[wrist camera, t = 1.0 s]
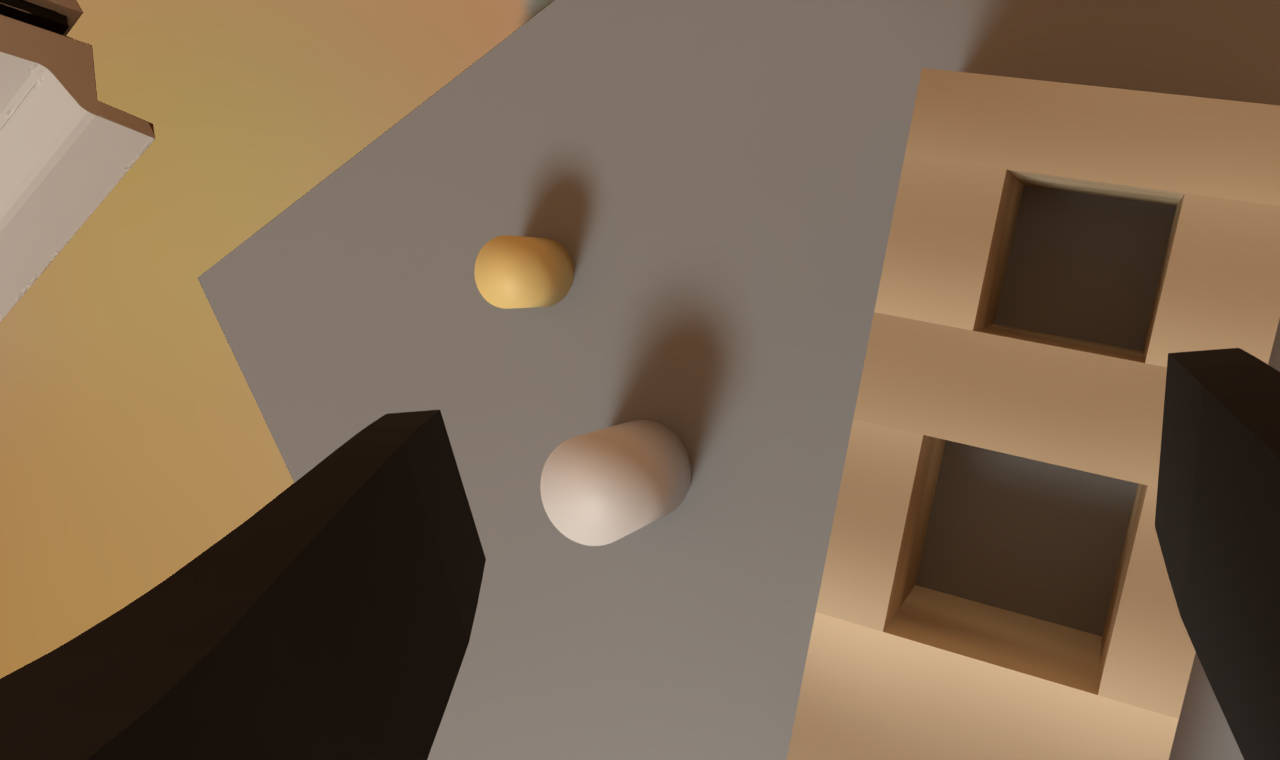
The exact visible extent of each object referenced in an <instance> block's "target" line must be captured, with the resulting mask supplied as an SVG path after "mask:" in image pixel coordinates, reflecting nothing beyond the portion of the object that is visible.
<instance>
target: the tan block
mask: <svg viewBox="0 0 1280 760" xmlns="http://www.w3.org/2000/svg"><path fill="white" fill-rule="evenodd" d="M1024 185H1025V186H1032V187H1040V188H1047V189H1054V190H1061V191H1068V192H1075V193H1083V194H1090V195H1097V196H1104V197H1111V198H1118V199H1126V200H1133V201H1140V202H1147V203H1154V204H1162V205H1169V206H1176V209H1175V214H1174V218H1173V222H1172V226H1171V231H1170V235H1169V239H1168V243H1167V248H1166V252H1165V256H1164V261H1163V265H1162V269H1161V273H1160V278H1159V282H1158V286H1157V291H1156V295H1155V299H1154V303H1153V308H1152V312H1151V316H1150V321H1149V325H1148V329H1147V333H1146V338H1145V342H1144V346H1143V350H1142V351H1138V350H1133V349H1128V348H1122V347H1117V346H1111V345H1106V344H1101V343H1095V342H1090V341H1084V340H1079V339H1074V338H1068V337H1063V336H1057V335H1052V334H1047V333H1041V332H1036V331H1030V330H1025V329H1020V328H1014V327H1009V326H1003V325H998V324H994V323H995V318H996V314H997V309H998V304H999V299H1000V295H1001V290H1002V285H1003V281H1004V276H1005V271H1006V266H1007V262H1008V257H1009V252H1010V248H1011V243H1012V238H1013V233H1014V229H1015V224H1016V219H1017V215H1018V210H1019V205H1020V201H1021V196H1022V191H1023V186H1024ZM1279 319H1280V106H1279V105H1270V104H1260V103H1251V102H1241V101H1232V100H1222V99H1213V98H1203V97H1194V96H1184V95H1175V94H1165V93H1156V92H1146V91H1137V90H1127V89H1118V88H1108V87H1099V86H1089V85H1080V84H1070V83H1061V82H1051V81H1042V80H1032V79H1023V78H1013V77H1004V76H995V75H985V74H976V73H966V72H957V71H947V70H938V69H928V68H922V70H921V75H920V80H919V85H918V90H917V95H916V100H915V105H914V110H913V116H912V121H911V126H910V131H909V136H908V141H907V146H906V151H905V157H904V162H903V167H902V172H901V177H900V182H899V187H898V192H897V197H896V203H895V208H894V213H893V218H892V223H891V228H890V233H889V238H888V244H887V249H886V254H885V259H884V264H883V269H882V274H881V279H880V284H879V290H878V295H877V300H876V305H875V310H874V315H873V320H872V325H871V331H870V336H869V341H868V346H867V351H866V356H865V361H864V366H863V372H862V377H861V382H860V387H859V392H858V397H857V402H856V407H855V412H854V418H853V423H852V428H851V433H850V438H849V443H848V448H847V453H846V459H845V464H844V469H843V474H842V479H841V484H840V489H839V494H838V499H837V505H836V510H835V515H834V520H833V525H832V530H831V535H830V540H829V546H828V551H827V556H826V561H825V566H824V571H823V576H822V581H821V587H820V592H819V597H818V602H817V607H816V612H815V617H814V622H813V627H812V633H811V638H810V643H809V648H808V653H807V658H806V663H805V668H804V674H803V679H802V684H801V689H800V694H799V699H798V704H797V709H796V714H795V720H794V725H793V730H792V735H791V740H790V745H789V750H788V755H787V760H1169V756H1170V752H1171V748H1172V744H1173V740H1174V736H1175V732H1176V728H1177V724H1178V720H1179V716H1180V713H1181V709H1182V705H1183V701H1184V697H1185V693H1186V689H1187V685H1188V681H1189V677H1190V673H1191V669H1192V665H1193V661H1194V657H1195V653H1196V651H1195V649H1194V646H1193V644H1192V642H1191V640H1190V637H1189V635H1188V633H1187V630H1186V628H1185V626H1184V623H1183V621H1182V619H1181V616H1180V613H1179V610H1178V606H1177V603H1176V600H1175V596H1174V593H1173V590H1172V586H1171V583H1170V580H1169V576H1168V573H1167V569H1166V566H1165V562H1164V558H1163V555H1162V551H1161V547H1160V544H1159V540H1158V536H1157V533H1156V529H1155V514H1156V502H1157V489H1158V476H1159V463H1160V450H1161V438H1162V425H1163V412H1164V399H1165V387H1166V374H1167V361H1168V353H1177V352H1190V351H1203V350H1216V349H1229V348H1240V349H1242V350H1244V351H1246V352H1248V353H1249V354H1251V355H1253V356H1255V357H1256V358H1258V359H1260V360H1261V361H1263V362H1265V363H1266V364H1268V363H1269V359H1270V355H1271V351H1272V347H1273V343H1274V339H1275V335H1276V331H1277V327H1278V323H1279ZM946 440H948V441H953V442H957V443H962V444H966V445H970V446H975V447H979V448H984V449H988V450H993V451H997V452H1001V453H1006V454H1010V455H1015V456H1019V457H1024V458H1028V459H1032V460H1037V461H1041V462H1046V463H1050V464H1054V465H1059V466H1063V467H1068V468H1072V469H1077V470H1081V471H1085V472H1090V473H1094V474H1099V475H1103V476H1108V477H1112V478H1116V479H1121V480H1125V481H1130V482H1134V483H1138V486H1137V490H1136V494H1135V499H1134V503H1133V507H1132V511H1131V516H1130V520H1129V524H1128V528H1127V532H1126V537H1125V541H1124V545H1123V549H1122V553H1121V558H1120V562H1119V566H1118V570H1117V575H1116V579H1115V583H1114V587H1113V591H1112V596H1111V600H1110V604H1109V608H1108V612H1107V617H1106V621H1105V625H1104V629H1103V633H1102V636H1098V635H1095V634H1091V633H1088V632H1084V631H1080V630H1077V629H1073V628H1069V627H1066V626H1062V625H1059V624H1055V623H1051V622H1048V621H1044V620H1040V619H1037V618H1033V617H1030V616H1026V615H1022V614H1019V613H1015V612H1011V611H1008V610H1004V609H1001V608H997V607H993V606H990V605H986V604H982V603H979V602H975V601H972V600H968V599H964V598H961V597H957V596H953V595H950V594H946V593H943V592H939V591H935V590H932V589H928V588H925V587H921V586H917V585H916V580H917V575H918V571H919V566H920V561H921V556H922V551H923V547H924V542H925V537H926V532H927V527H928V523H929V518H930V513H931V508H932V504H933V499H934V494H935V489H936V484H937V480H938V475H939V470H940V465H941V460H942V456H943V451H944V446H945V441H946Z"/></svg>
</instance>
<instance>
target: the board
mask: <svg viewBox="0 0 1280 760" xmlns="http://www.w3.org/2000/svg"><path fill="white" fill-rule="evenodd" d="M922 68H928V69H938V70H947V71H957V72H966V73H976V74H985V75H995V76H1004V77H1013V78H1023V79H1032V80H1042V81H1051V82H1061V83H1070V84H1080V85H1089V86H1099V87H1108V88H1118V89H1127V90H1137V91H1146V92H1156V93H1165V94H1175V95H1184V96H1194V97H1203V98H1213V99H1222V100H1232V101H1241V102H1251V103H1260V104H1270V105H1279V106H1280V0H555V1H553V2H552V3H551V4H549V5H548V6H547V7H546V8H544V9H543V10H542V11H540V12H539V13H538V14H537V15H535V16H534V17H533V18H531V19H530V20H529V21H528V22H526V23H525V24H524V25H522V26H521V27H520V28H519V29H517V30H516V31H515V32H514V33H512V34H511V35H510V36H508V37H507V38H506V39H504V40H503V41H502V42H501V43H499V44H498V45H497V46H495V47H494V48H493V49H492V50H490V51H489V52H488V53H486V54H485V55H484V56H483V57H481V58H480V59H479V60H477V61H476V62H475V63H474V64H472V65H471V66H470V67H468V68H467V69H466V70H465V71H463V72H462V73H461V74H459V75H458V76H457V77H456V78H454V79H453V80H452V81H450V82H449V83H448V84H447V85H445V86H444V87H443V88H441V89H440V90H439V91H437V92H436V93H435V94H434V95H432V96H431V97H430V98H428V99H427V100H426V101H425V102H423V103H422V104H421V105H419V107H417V108H416V109H414V110H413V111H412V112H410V113H409V114H408V115H407V116H405V117H404V118H403V119H401V120H400V121H399V122H398V123H396V124H395V125H394V126H392V127H391V128H390V129H389V130H387V131H386V132H385V133H383V134H382V135H381V136H380V137H378V138H377V139H376V140H374V141H373V142H372V143H371V144H369V145H368V146H367V147H366V148H364V149H363V150H362V151H360V152H359V153H358V154H356V155H355V156H354V157H353V158H352V159H350V160H349V161H347V162H346V163H345V164H344V165H342V166H341V167H340V168H338V169H337V170H336V171H335V172H333V173H332V174H331V175H329V176H328V177H327V178H326V179H324V180H323V181H322V182H320V183H319V184H318V185H317V186H315V187H314V188H313V189H311V190H310V191H309V192H307V193H306V194H305V195H304V196H303V197H301V198H300V199H298V200H297V201H296V202H295V203H293V204H292V205H291V206H289V207H288V208H287V209H286V210H284V211H283V212H282V213H281V214H279V215H278V216H277V217H275V218H274V219H273V220H271V221H270V222H269V223H268V224H266V225H265V226H264V227H262V228H261V229H260V230H259V231H257V232H256V233H255V234H253V235H252V236H251V237H250V238H248V239H247V240H246V241H244V242H243V243H242V244H241V245H239V246H238V247H237V248H235V249H234V250H233V251H232V252H230V253H229V254H228V255H226V256H225V257H224V258H223V259H221V260H220V261H219V262H217V263H216V264H215V265H214V266H212V267H211V268H210V269H208V270H207V271H206V272H204V273H203V274H202V275H201V276H199V277H198V280H199V282H200V284H201V286H202V288H203V290H204V293H205V295H206V297H207V299H208V301H209V303H210V305H211V307H212V309H213V312H214V314H215V316H216V318H217V320H218V322H219V324H220V326H221V329H222V331H223V333H224V335H225V337H226V339H227V341H228V343H229V345H230V348H231V350H232V352H233V354H234V356H235V358H236V360H237V362H238V364H239V366H240V369H241V371H242V373H243V375H244V377H245V379H246V381H247V383H248V385H249V388H250V390H251V392H252V394H253V396H254V398H255V400H256V402H257V404H258V407H259V409H260V411H261V413H262V415H263V417H264V419H265V421H266V424H267V426H268V428H269V430H270V432H271V434H272V436H273V438H274V440H275V443H276V445H277V447H278V449H279V451H280V453H281V455H282V457H283V459H284V461H285V464H286V466H287V468H288V470H289V472H290V474H291V476H292V479H293V481H294V483H295V482H296V481H297V480H299V479H300V478H301V477H303V476H304V475H305V474H306V473H308V472H309V471H310V470H311V469H313V468H314V467H315V466H316V465H318V464H319V463H320V462H321V461H323V460H324V459H325V458H326V457H328V456H329V455H330V454H331V453H333V452H334V451H335V450H337V449H338V448H339V447H340V446H342V445H343V444H344V443H346V442H347V441H348V440H349V439H351V438H352V437H353V436H355V435H356V434H357V433H359V432H360V431H361V430H363V429H364V428H366V427H367V426H368V425H370V424H371V423H373V422H374V421H376V420H377V419H379V418H381V417H382V416H384V415H385V414H389V413H402V412H415V411H428V410H440V411H441V414H442V417H443V421H444V424H445V427H446V431H447V434H448V437H449V440H450V444H451V447H452V450H453V453H454V457H455V460H456V463H457V466H458V470H459V473H460V476H461V480H462V483H463V486H464V489H465V493H466V496H467V499H468V502H469V506H470V509H471V512H472V515H473V519H474V522H475V525H476V528H477V532H478V535H479V538H480V542H481V545H482V548H483V551H484V555H485V558H486V562H485V567H484V572H483V578H482V583H481V588H480V594H479V599H478V604H477V609H476V613H475V618H474V622H473V627H472V631H471V636H470V640H469V644H468V647H467V650H466V653H465V655H464V658H463V661H462V664H461V667H460V670H459V673H458V676H457V678H456V681H455V684H454V687H453V690H452V693H451V695H450V698H449V701H448V704H447V707H446V709H445V712H444V715H443V718H442V720H441V723H440V726H439V729H438V731H437V734H436V737H435V740H434V742H433V745H432V748H431V751H430V753H429V756H428V759H427V760H787V755H788V750H789V745H790V740H791V735H792V730H793V725H794V720H795V714H796V709H797V704H798V699H799V694H800V689H801V684H802V679H803V674H804V668H805V663H806V658H807V653H808V648H809V643H810V638H811V633H812V627H813V622H814V617H815V612H816V607H817V602H818V597H819V592H820V587H821V581H822V576H823V571H824V566H825V561H826V556H827V551H828V546H829V540H830V535H831V530H832V525H833V520H834V515H835V510H836V505H837V499H838V494H839V489H840V484H841V479H842V474H843V469H844V464H845V459H846V453H847V448H848V443H849V438H850V433H851V428H852V423H853V418H854V412H855V407H856V402H857V397H858V392H859V387H860V382H861V377H862V372H863V366H864V361H865V356H866V351H867V346H868V341H869V336H870V331H871V325H872V320H873V315H874V310H875V305H876V300H877V295H878V290H879V284H880V279H881V274H882V269H883V264H884V259H885V254H886V249H887V244H888V238H889V233H890V228H891V223H892V218H893V213H894V208H895V203H896V197H897V192H898V187H899V182H900V177H901V172H902V167H903V162H904V157H905V151H906V146H907V141H908V136H909V131H910V126H911V121H912V116H913V110H914V105H915V100H916V95H917V90H918V85H919V80H920V75H921V70H922ZM1175 209H1176V206H1169V205H1162V204H1154V203H1147V202H1140V201H1133V200H1126V199H1118V198H1111V197H1104V196H1097V195H1090V194H1083V193H1075V192H1068V191H1061V190H1054V189H1047V188H1040V187H1032V186H1025V185H1024V186H1023V191H1022V196H1021V201H1020V205H1019V210H1018V215H1017V219H1016V224H1015V229H1014V233H1013V238H1012V243H1011V248H1010V252H1009V257H1008V262H1007V266H1006V271H1005V276H1004V281H1003V285H1002V290H1001V295H1000V299H999V304H998V309H997V314H996V318H995V323H994V324H998V325H1003V326H1009V327H1014V328H1020V329H1025V330H1030V331H1036V332H1041V333H1047V334H1052V335H1057V336H1063V337H1068V338H1074V339H1079V340H1084V341H1090V342H1095V343H1101V344H1106V345H1111V346H1117V347H1122V348H1128V349H1133V350H1138V351H1142V350H1143V346H1144V342H1145V338H1146V333H1147V329H1148V325H1149V321H1150V316H1151V312H1152V308H1153V303H1154V299H1155V295H1156V291H1157V286H1158V282H1159V278H1160V273H1161V269H1162V265H1163V261H1164V256H1165V252H1166V248H1167V243H1168V239H1169V235H1170V231H1171V226H1172V222H1173V218H1174V214H1175ZM1268 365H1269V366H1271V367H1273V368H1274V369H1276V370H1277V371H1279V372H1280V319H1279V323H1278V327H1277V331H1276V335H1275V339H1274V343H1273V347H1272V351H1271V355H1270V359H1269V363H1268ZM1137 486H1138V483H1134V482H1130V481H1125V480H1121V479H1116V478H1112V477H1108V476H1103V475H1099V474H1094V473H1090V472H1085V471H1081V470H1077V469H1072V468H1068V467H1063V466H1059V465H1054V464H1050V463H1046V462H1041V461H1037V460H1032V459H1028V458H1024V457H1019V456H1015V455H1010V454H1006V453H1001V452H997V451H993V450H988V449H984V448H979V447H975V446H970V445H966V444H962V443H957V442H953V441H948V440H946V441H945V446H944V451H943V456H942V460H941V465H940V470H939V475H938V480H937V484H936V489H935V494H934V499H933V504H932V508H931V513H930V518H929V523H928V527H927V532H926V537H925V542H924V547H923V551H922V556H921V561H920V566H919V571H918V575H917V580H916V585H917V586H921V587H925V588H928V589H932V590H935V591H939V592H943V593H946V594H950V595H953V596H957V597H961V598H964V599H968V600H972V601H975V602H979V603H982V604H986V605H990V606H993V607H997V608H1001V609H1004V610H1008V611H1011V612H1015V613H1019V614H1022V615H1026V616H1030V617H1033V618H1037V619H1040V620H1044V621H1048V622H1051V623H1055V624H1059V625H1062V626H1066V627H1069V628H1073V629H1077V630H1080V631H1084V632H1088V633H1091V634H1095V635H1098V636H1102V633H1103V629H1104V625H1105V621H1106V617H1107V612H1108V608H1109V604H1110V600H1111V596H1112V591H1113V587H1114V583H1115V579H1116V575H1117V570H1118V566H1119V562H1120V558H1121V553H1122V549H1123V545H1124V541H1125V537H1126V532H1127V528H1128V524H1129V520H1130V516H1131V511H1132V507H1133V503H1134V499H1135V494H1136V490H1137ZM1169 760H1244V758H1243V756H1242V754H1241V751H1240V749H1239V747H1238V745H1237V743H1236V740H1235V738H1234V736H1233V734H1232V732H1231V729H1230V727H1229V725H1228V723H1227V720H1226V718H1225V716H1224V714H1223V712H1222V709H1221V707H1220V705H1219V703H1218V701H1217V698H1216V696H1215V694H1214V692H1213V689H1212V687H1211V685H1210V683H1209V680H1208V678H1207V676H1206V674H1205V671H1204V669H1203V667H1202V665H1201V662H1200V660H1199V658H1198V656H1197V653H1195V657H1194V661H1193V665H1192V669H1191V673H1190V677H1189V681H1188V685H1187V689H1186V693H1185V697H1184V701H1183V705H1182V709H1181V713H1180V716H1179V720H1178V724H1177V728H1176V732H1175V736H1174V740H1173V744H1172V748H1171V752H1170V756H1169Z"/></svg>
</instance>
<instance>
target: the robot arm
mask: <svg viewBox="0 0 1280 760" xmlns="http://www.w3.org/2000/svg"><path fill="white" fill-rule="evenodd" d="M1155 529H1156V533H1157V536H1158V540H1159V544H1160V547H1161V551H1162V555H1163V558H1164V562H1165V566H1166V569H1167V573H1168V576H1169V580H1170V583H1171V586H1172V590H1173V593H1174V596H1175V600H1176V603H1177V606H1178V610H1179V613H1180V616H1181V619H1182V621H1183V623H1184V626H1185V628H1186V630H1187V633H1188V635H1189V637H1190V640H1191V642H1192V644H1193V646H1194V649H1195V651H1196V653H1197V656H1198V658H1199V660H1200V662H1201V665H1202V667H1203V669H1204V671H1205V674H1206V676H1207V678H1208V680H1209V683H1210V685H1211V687H1212V689H1213V692H1214V694H1215V696H1216V698H1217V701H1218V703H1219V705H1220V707H1221V709H1222V712H1223V714H1224V716H1225V718H1226V720H1227V723H1228V725H1229V727H1230V729H1231V732H1232V734H1233V736H1234V738H1235V740H1236V743H1237V745H1238V747H1239V749H1240V751H1241V754H1242V756H1243V758H1244V760H1280V372H1279V371H1277V370H1276V369H1274V368H1273V367H1271V366H1269V365H1268V364H1266V363H1265V362H1263V361H1261V360H1260V359H1258V358H1256V357H1255V356H1253V355H1251V354H1249V353H1248V352H1246V351H1244V350H1242V349H1240V348H1229V349H1216V350H1203V351H1190V352H1177V353H1168V361H1167V374H1166V387H1165V399H1164V412H1163V425H1162V438H1161V450H1160V463H1159V476H1158V489H1157V502H1156V514H1155ZM485 562H486V558H485V555H484V551H483V548H482V545H481V542H480V538H479V535H478V532H477V528H476V525H475V522H474V519H473V515H472V512H471V509H470V506H469V502H468V499H467V496H466V493H465V489H464V486H463V483H462V480H461V476H460V473H459V470H458V466H457V463H456V460H455V457H454V453H453V450H452V447H451V444H450V440H449V437H448V434H447V431H446V427H445V424H444V421H443V417H442V414H441V411H440V410H428V411H415V412H402V413H389V414H385V415H384V416H382V417H381V418H379V419H377V420H376V421H374V422H373V423H371V424H370V425H368V426H367V427H366V428H364V429H363V430H361V431H360V432H359V433H357V434H356V435H355V436H353V437H352V438H351V439H349V440H348V441H347V442H346V443H344V444H343V445H342V446H340V447H339V448H338V449H337V450H335V451H334V452H333V453H331V454H330V455H329V456H328V457H326V458H325V459H324V460H323V461H321V462H320V463H319V464H318V465H316V466H315V467H314V468H313V469H311V470H310V471H309V472H308V473H306V474H305V475H304V476H303V477H301V478H300V479H299V480H297V481H296V482H295V483H294V484H292V485H291V486H290V487H289V488H287V489H286V490H285V491H284V492H283V493H281V494H280V495H278V496H277V497H276V498H275V499H273V500H272V501H271V502H270V503H268V504H267V505H266V506H265V507H263V508H262V509H261V510H260V511H258V512H257V513H256V514H255V515H253V516H252V517H251V518H249V519H248V520H247V521H245V522H244V523H243V524H242V525H240V526H239V527H237V528H236V529H235V530H233V531H232V532H231V533H229V534H228V535H226V536H225V537H224V538H222V539H221V540H220V541H218V542H217V543H216V544H214V545H213V546H211V547H210V548H209V549H207V550H206V551H205V552H203V553H202V554H201V555H199V556H198V557H196V558H195V559H194V560H192V561H191V562H190V563H188V564H187V565H185V566H184V567H183V568H181V569H180V570H179V571H177V572H176V573H175V574H173V575H172V576H170V577H169V578H168V579H166V580H165V581H163V582H162V583H160V584H159V585H157V586H156V587H154V588H153V589H152V590H150V591H149V592H147V593H146V594H144V595H143V596H141V597H140V598H138V599H136V600H135V601H134V602H132V603H130V604H129V605H128V606H126V607H124V608H123V609H121V610H120V611H118V612H116V613H115V614H113V615H112V616H110V617H108V618H107V619H105V620H103V621H102V622H100V623H98V624H97V625H95V626H94V627H92V628H90V629H89V630H87V631H85V632H84V633H82V634H81V635H79V636H77V637H76V638H74V639H73V640H71V641H69V642H67V643H66V644H64V645H62V646H60V647H59V648H57V649H55V650H53V651H52V652H50V653H48V654H46V655H44V656H42V657H41V658H39V659H37V660H35V661H33V662H32V663H30V664H27V665H26V666H24V667H22V668H20V669H18V670H16V671H14V672H13V673H11V674H9V675H7V676H5V677H3V678H1V679H0V760H427V759H428V756H429V753H430V751H431V748H432V745H433V742H434V740H435V737H436V734H437V731H438V729H439V726H440V723H441V720H442V718H443V715H444V712H445V709H446V707H447V704H448V701H449V698H450V695H451V693H452V690H453V687H454V684H455V681H456V678H457V676H458V673H459V670H460V667H461V664H462V661H463V658H464V655H465V653H466V650H467V647H468V644H469V640H470V636H471V631H472V627H473V622H474V618H475V613H476V609H477V604H478V599H479V594H480V588H481V583H482V578H483V572H484V567H485Z"/></svg>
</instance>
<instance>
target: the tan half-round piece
mask: <svg viewBox="0 0 1280 760" xmlns="http://www.w3.org/2000/svg"><path fill="white" fill-rule="evenodd" d="M82 13H83V11H82V9H81V8H80V6H79V4H78V3H77V1H76V0H0V322H1V321H2V319H3V318H4V317H5V316H6V315H7V314H8V312H9V311H10V310H11V309H12V307H14V305H15V304H16V303H17V302H18V301H19V299H20V298H21V297H22V296H23V295H24V294H25V292H26V291H27V290H28V289H29V288H30V286H31V285H32V284H33V283H34V282H35V280H36V279H37V278H38V277H39V276H40V275H41V273H42V272H43V271H44V270H45V269H46V267H47V266H48V265H49V264H50V262H51V261H52V260H53V259H54V258H55V257H56V256H57V254H58V253H59V252H60V250H62V248H63V247H64V246H65V245H66V244H67V243H68V241H69V240H70V239H71V238H72V237H73V235H74V234H75V233H76V232H77V230H78V229H79V228H80V227H81V226H82V225H83V223H84V222H85V221H86V220H87V219H88V218H89V216H90V215H91V214H92V213H93V212H94V210H95V209H96V208H97V207H98V206H99V205H100V203H101V202H102V201H103V200H104V199H105V197H106V196H107V195H108V194H109V193H110V191H111V190H112V189H113V188H114V187H115V186H116V184H117V183H118V182H119V181H120V180H121V178H122V177H123V176H124V175H125V174H126V172H127V171H128V170H129V169H130V168H131V167H132V165H133V164H134V163H135V162H136V160H137V159H138V158H139V157H140V156H141V155H142V154H143V152H144V151H145V150H146V149H147V148H148V146H149V145H150V144H151V143H152V142H153V141H154V139H155V134H154V126H153V124H152V123H150V122H147V121H145V120H142V119H140V118H138V117H135V116H133V115H130V114H128V113H126V112H124V111H121V110H119V109H116V108H114V107H112V106H109V105H107V104H104V103H102V102H100V101H98V100H97V93H96V82H95V73H94V61H93V51H92V45H89V44H86V43H83V42H80V41H77V40H74V39H72V38H70V37H67V36H66V35H67V33H68V32H69V31H70V29H71V28H72V27H73V25H74V24H75V23H76V21H77V20H78V19H79V17H80V16H81V14H82Z"/></svg>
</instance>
